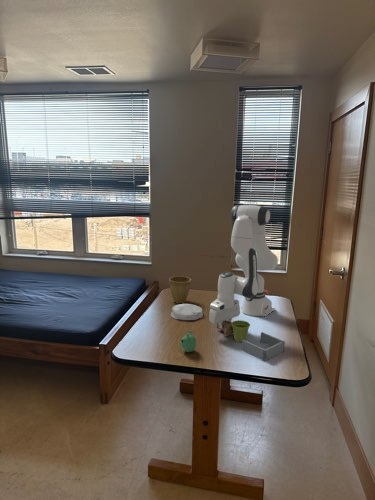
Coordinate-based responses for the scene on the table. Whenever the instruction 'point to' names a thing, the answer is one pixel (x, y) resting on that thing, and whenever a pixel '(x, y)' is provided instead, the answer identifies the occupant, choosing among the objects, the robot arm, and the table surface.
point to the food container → (186, 312)
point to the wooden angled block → (226, 327)
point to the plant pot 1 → (179, 288)
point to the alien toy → (188, 342)
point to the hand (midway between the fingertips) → (224, 327)
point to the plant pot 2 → (240, 330)
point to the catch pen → (261, 353)
